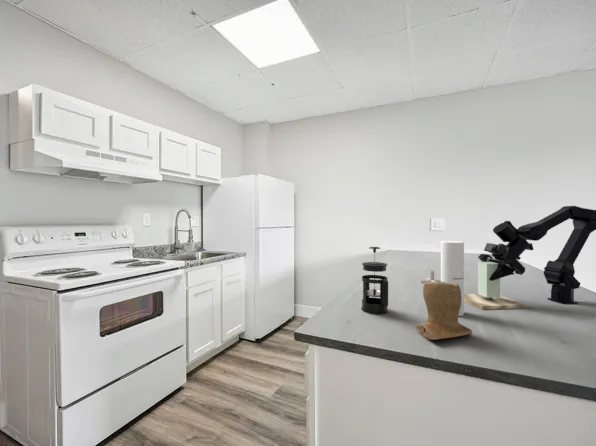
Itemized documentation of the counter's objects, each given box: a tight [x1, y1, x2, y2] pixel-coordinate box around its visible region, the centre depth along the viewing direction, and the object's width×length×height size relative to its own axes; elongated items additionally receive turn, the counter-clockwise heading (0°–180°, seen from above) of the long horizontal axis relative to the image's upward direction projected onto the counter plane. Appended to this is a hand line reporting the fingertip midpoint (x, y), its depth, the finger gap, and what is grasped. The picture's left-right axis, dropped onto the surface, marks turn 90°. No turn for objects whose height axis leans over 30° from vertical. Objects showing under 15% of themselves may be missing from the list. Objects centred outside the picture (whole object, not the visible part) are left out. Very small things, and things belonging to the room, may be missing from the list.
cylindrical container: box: [440, 240, 465, 317], centre depth 99 cm, size 7×7×25 cm
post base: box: [464, 293, 528, 310], centre depth 112 cm, size 18×16×5 cm
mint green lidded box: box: [477, 261, 501, 298], centre depth 112 cm, size 5×5×13 cm
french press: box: [361, 246, 389, 315], centre depth 102 cm, size 12×9×23 cm
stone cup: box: [415, 282, 473, 341], centre depth 81 cm, size 15×12×15 cm
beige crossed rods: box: [419, 269, 441, 285], centre depth 126 cm, size 10×10×10 cm
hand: (485, 278), depth 111 cm, fingers closed on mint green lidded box, 5 cm apart
